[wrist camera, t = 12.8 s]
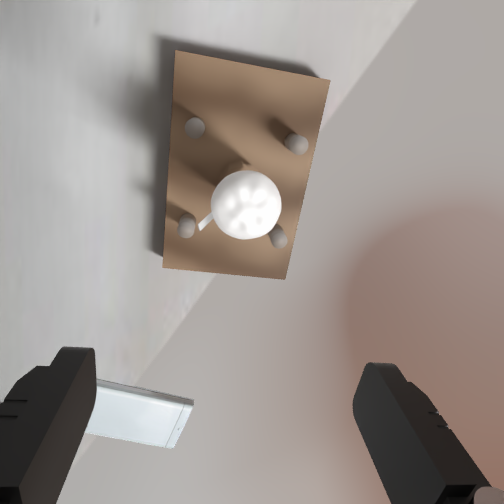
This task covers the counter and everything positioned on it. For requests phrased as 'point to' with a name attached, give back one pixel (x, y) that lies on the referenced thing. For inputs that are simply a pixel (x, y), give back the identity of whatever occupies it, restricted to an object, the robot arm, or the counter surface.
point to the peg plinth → (237, 158)
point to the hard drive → (138, 414)
